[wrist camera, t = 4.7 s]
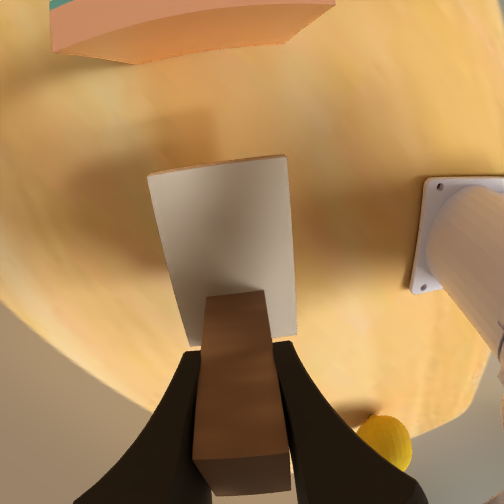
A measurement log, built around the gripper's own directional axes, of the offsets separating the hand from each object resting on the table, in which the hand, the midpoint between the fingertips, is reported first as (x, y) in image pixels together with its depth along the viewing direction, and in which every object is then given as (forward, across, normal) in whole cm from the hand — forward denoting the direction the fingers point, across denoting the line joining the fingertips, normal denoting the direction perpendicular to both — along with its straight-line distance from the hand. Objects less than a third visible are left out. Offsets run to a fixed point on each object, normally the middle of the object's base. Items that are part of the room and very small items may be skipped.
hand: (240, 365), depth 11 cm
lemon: (+8, -11, +20) cm, 25 cm away
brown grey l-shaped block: (+4, 0, -2) cm, 4 cm away
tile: (+8, 0, -12) cm, 14 cm away
